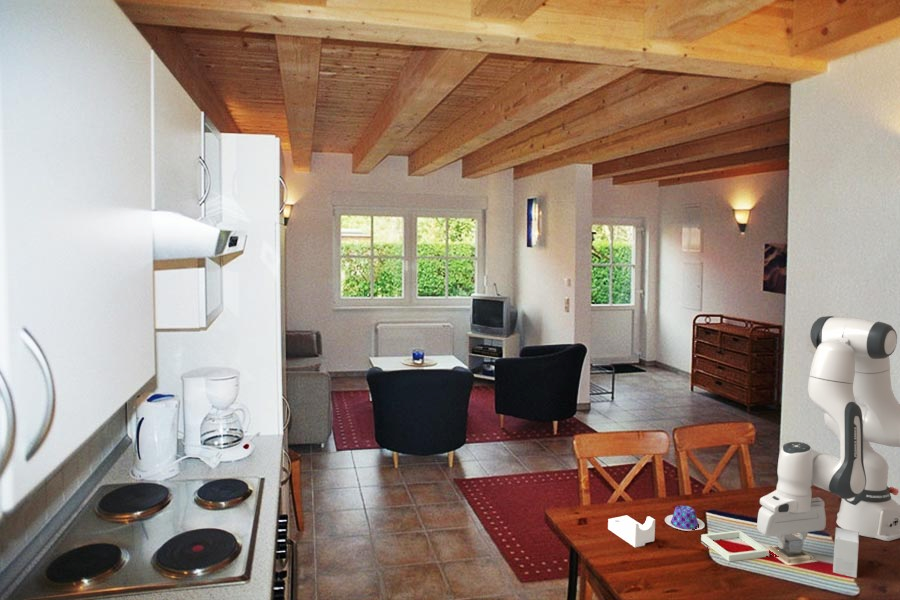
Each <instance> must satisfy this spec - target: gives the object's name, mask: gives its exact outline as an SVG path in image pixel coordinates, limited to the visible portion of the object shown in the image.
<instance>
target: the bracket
mask: <svg viewBox="0 0 900 600" xmlns="http://www.w3.org/2000/svg"><path fill="white" fill-rule="evenodd" d="M607 521H608V522H607V529H608V530H609V531H611V533H613V534H615V535H616V537H617V536H618V537H619V538H620V539H622V540H623V541H625V542H626V543H628V544H629V545H631V546H632V547H634V548H640V547H644V546H646V544H647V543H651V542H655V536H656V535H655V534H656V530H655V529H656V519H654V518H653V517H651V516H646V520H645V522H644V523H643V524H642V523H640V522H638V521H637V520H635V519H634V518H632V517H630V516H629V515H627V514H626V515H622V516H618V517H612V518H608V519H607Z"/></svg>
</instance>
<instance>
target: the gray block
mask: <svg viewBox="0 0 900 600" xmlns="http://www.w3.org/2000/svg"><path fill="white" fill-rule="evenodd" d="M783 540H784V542H786V543H787V548H785V549H781V548H779V551H780V552H781V553H783V554H784V555H786V556H787V557H796V556H801V553H802V550H803V546H802V540H801V539H799V538H798V536H796V535H795V534H787V535H785V536H784V538H783Z"/></svg>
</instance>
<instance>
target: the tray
mask: <svg viewBox="0 0 900 600" xmlns="http://www.w3.org/2000/svg"><path fill="white" fill-rule="evenodd" d="M700 536H701V537H700V541H701V542H700V543H701V544H702V545H703V546H705V547H706V548H707V547H708V549H709V548H710V549H712V550H713V551H714V552H715V553H717V554H718V555H719V556H721V557H722V558H723V559H724V560H726V561H727V562H728V563H727V564H728V565H730V564H731V563H730V562H736V561H744V560H752V559H760V558H767V557H766V556H768V557H770V553H769V550H768V549H766V548H767V547H765V546H763V545H762V544H761V543H760V542H758V541H756V540H755V539H753V538H752V537H750V536H749V535H747V534H746V533H744V532H743V531H741V530H740V529H738V530H737V529H736V530H730V531H721V532H720V531H719V532H712V533H711V532H710V533H705V534H704V533H703V534H701V535H700ZM737 537H739V538H737ZM728 538H731V539H740V540H741V539H742V540H741V541H743V542H744V541H745V542H744V543H746V544H747V545H748V544H749V545H748V546H750V547H752V549H754V550H748V551H746V550H745V551H738V552H731V553H730V552H729V551H728V550H726V549H725V548H724V547H722V546H721V545H719V544H718V543H717V542H716V541H720V539H722V540H728ZM713 540H714V541H713ZM724 560H723V561H724Z"/></svg>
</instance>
